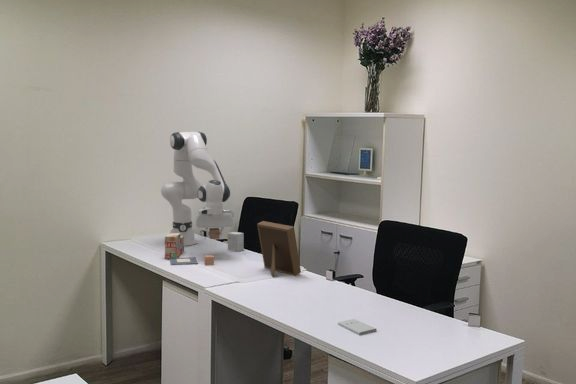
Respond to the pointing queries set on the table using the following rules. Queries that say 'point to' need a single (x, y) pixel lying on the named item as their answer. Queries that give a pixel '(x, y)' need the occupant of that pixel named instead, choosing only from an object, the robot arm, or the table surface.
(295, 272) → the photo frame
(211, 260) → the terracotta block
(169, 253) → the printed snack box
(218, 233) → the walnut block
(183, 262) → the grey flat square plate
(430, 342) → the table surface
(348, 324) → the external hard drive
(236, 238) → the small box
